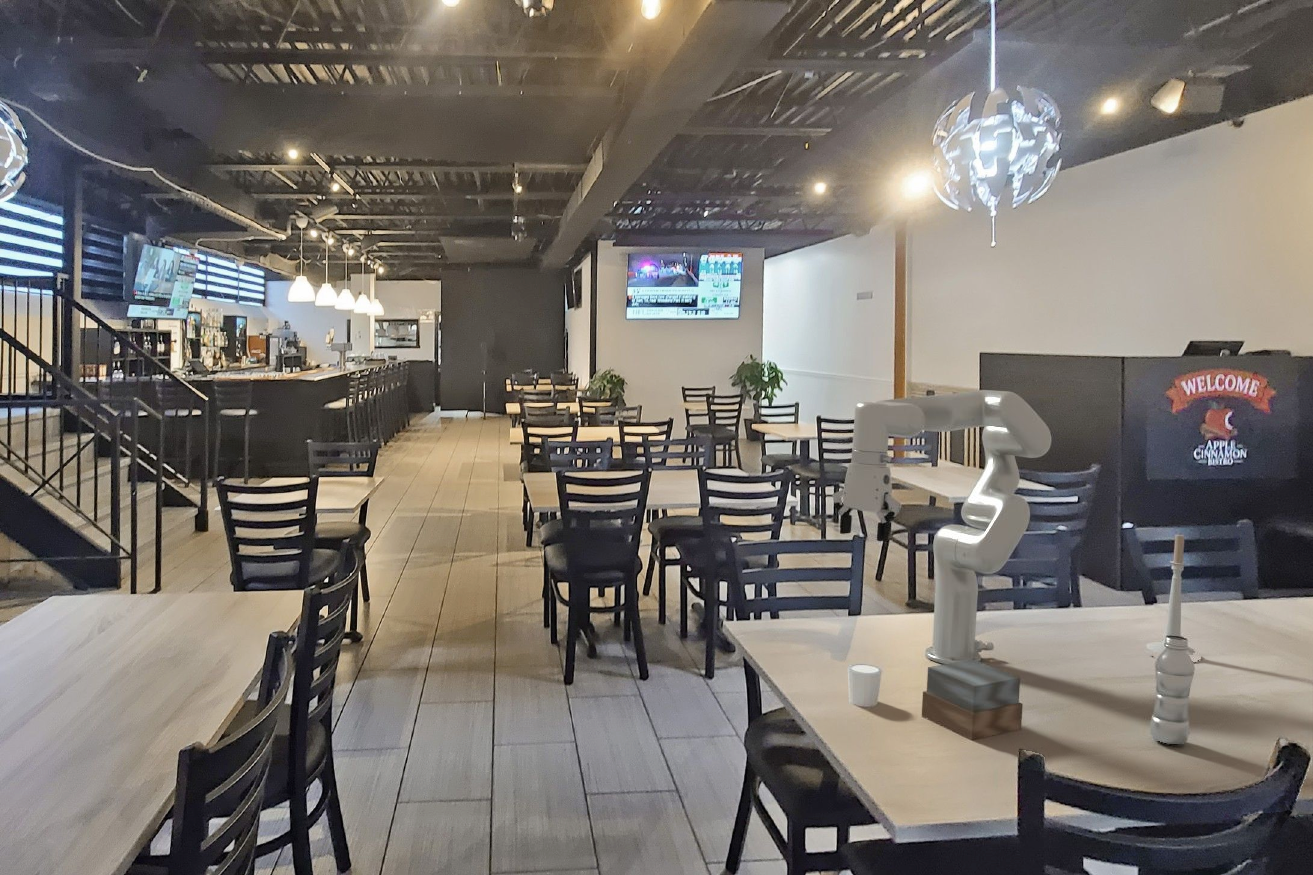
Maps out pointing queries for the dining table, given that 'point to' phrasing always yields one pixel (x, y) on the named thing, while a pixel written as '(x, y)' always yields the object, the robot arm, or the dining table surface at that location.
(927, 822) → the dining table surface
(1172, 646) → the plastic bottle
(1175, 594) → the candlestick
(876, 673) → the white grey-rimmed cylinder
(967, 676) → the grey and wood block
